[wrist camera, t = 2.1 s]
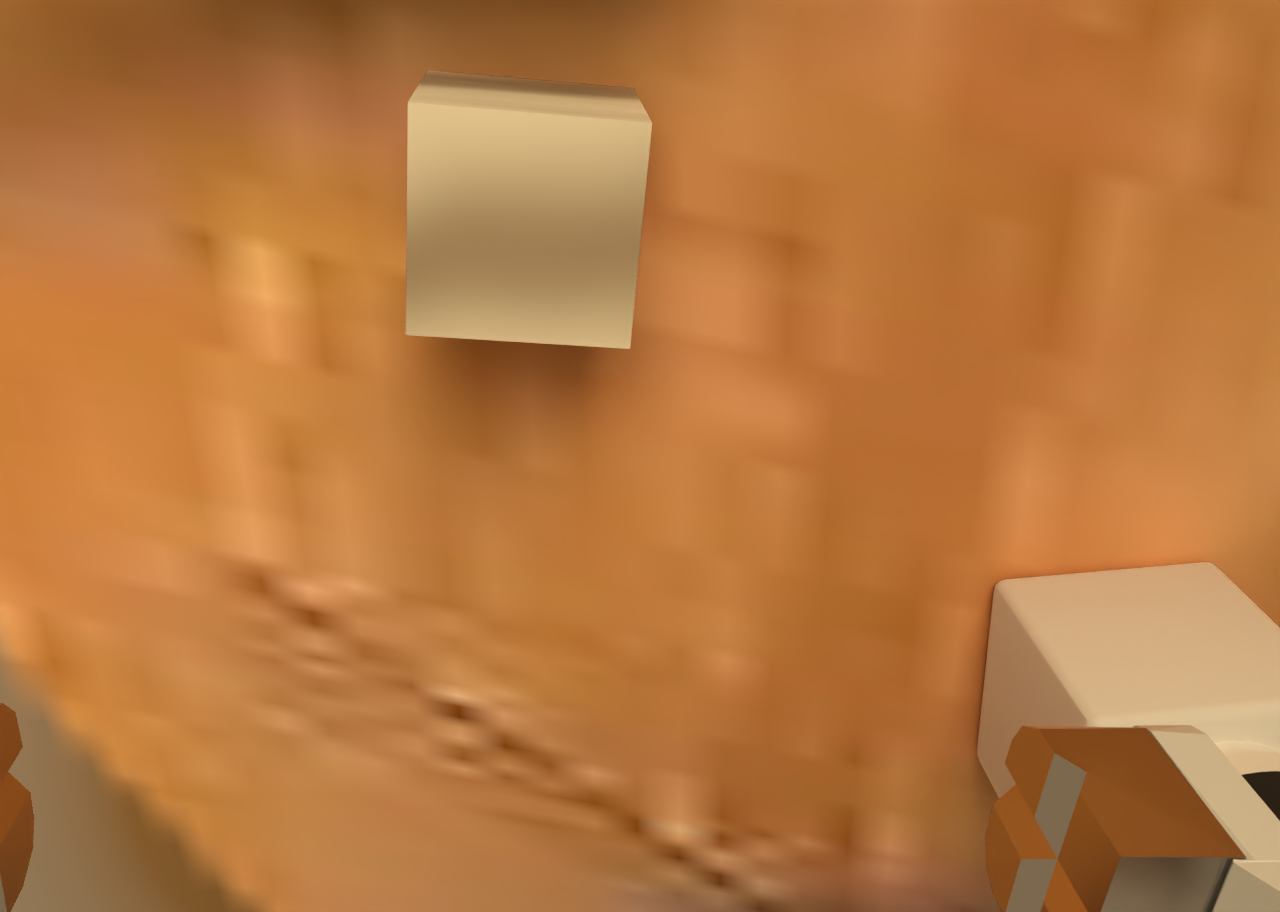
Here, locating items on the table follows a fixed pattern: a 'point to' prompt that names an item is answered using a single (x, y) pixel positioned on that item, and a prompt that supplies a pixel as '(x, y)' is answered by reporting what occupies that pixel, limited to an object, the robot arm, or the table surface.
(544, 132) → the ash cube
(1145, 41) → the table surface
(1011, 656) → the medicine bottle
